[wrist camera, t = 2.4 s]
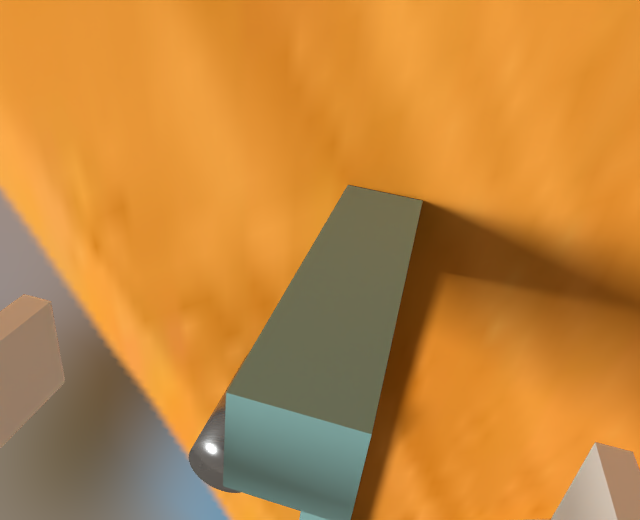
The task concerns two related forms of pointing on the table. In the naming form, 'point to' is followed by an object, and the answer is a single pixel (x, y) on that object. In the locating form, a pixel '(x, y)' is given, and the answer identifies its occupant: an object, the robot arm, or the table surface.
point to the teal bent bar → (322, 362)
